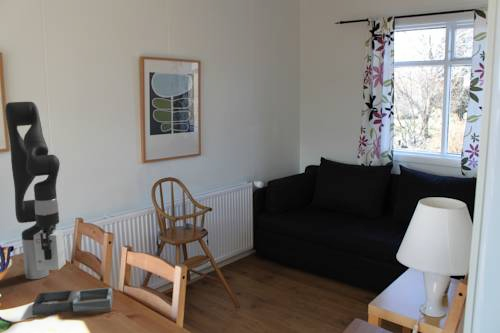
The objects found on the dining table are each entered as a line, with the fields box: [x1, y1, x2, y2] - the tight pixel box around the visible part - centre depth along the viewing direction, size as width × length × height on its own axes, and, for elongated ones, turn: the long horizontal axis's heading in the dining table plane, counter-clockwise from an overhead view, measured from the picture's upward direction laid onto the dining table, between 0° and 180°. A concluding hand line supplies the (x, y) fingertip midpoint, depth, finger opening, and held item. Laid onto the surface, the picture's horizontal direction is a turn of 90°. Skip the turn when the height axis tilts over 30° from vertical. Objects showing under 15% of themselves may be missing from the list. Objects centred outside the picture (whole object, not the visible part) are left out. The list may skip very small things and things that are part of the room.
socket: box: [31, 289, 76, 316], centre depth 163 cm, size 11×12×4 cm
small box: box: [33, 229, 67, 271], centre depth 160 cm, size 8×6×13 cm
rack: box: [72, 286, 114, 317], centre depth 163 cm, size 12×13×4 cm
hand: (50, 255), depth 160 cm, fingers closed on small box, 7 cm apart
